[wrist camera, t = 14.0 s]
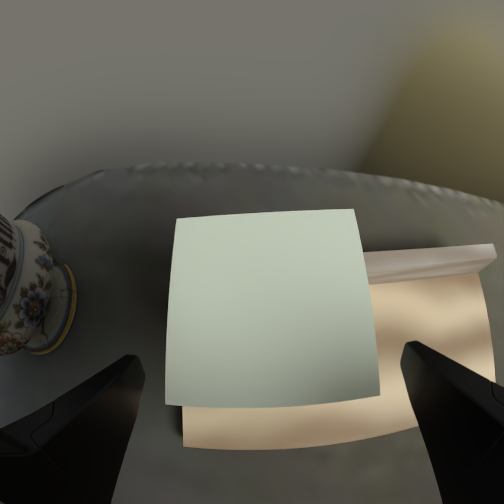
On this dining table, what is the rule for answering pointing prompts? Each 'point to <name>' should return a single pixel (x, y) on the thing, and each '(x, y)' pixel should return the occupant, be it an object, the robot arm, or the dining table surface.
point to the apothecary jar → (32, 291)
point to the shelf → (388, 349)
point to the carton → (269, 312)
